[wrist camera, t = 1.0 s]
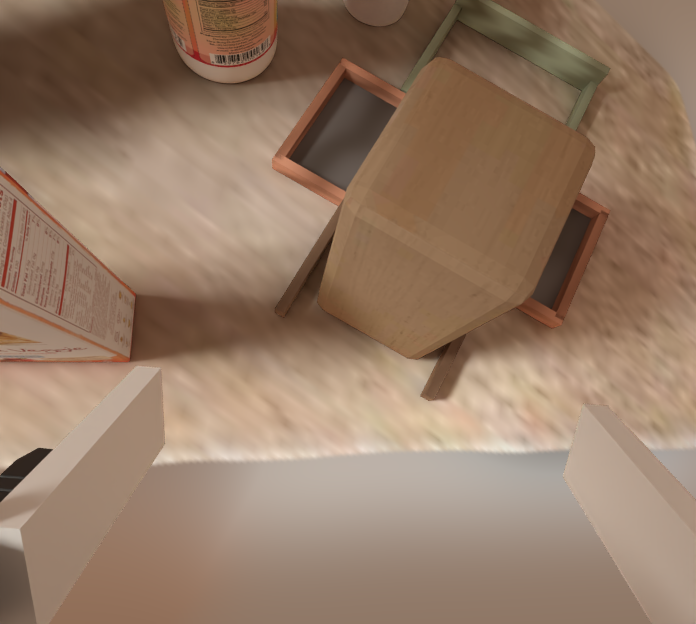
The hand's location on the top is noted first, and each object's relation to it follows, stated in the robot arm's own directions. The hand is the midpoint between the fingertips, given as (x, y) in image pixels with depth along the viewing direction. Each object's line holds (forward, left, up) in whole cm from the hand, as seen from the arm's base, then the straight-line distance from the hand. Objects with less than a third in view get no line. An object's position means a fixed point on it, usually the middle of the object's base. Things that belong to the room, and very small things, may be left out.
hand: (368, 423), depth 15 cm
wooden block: (0, +13, -24) cm, 28 cm away
